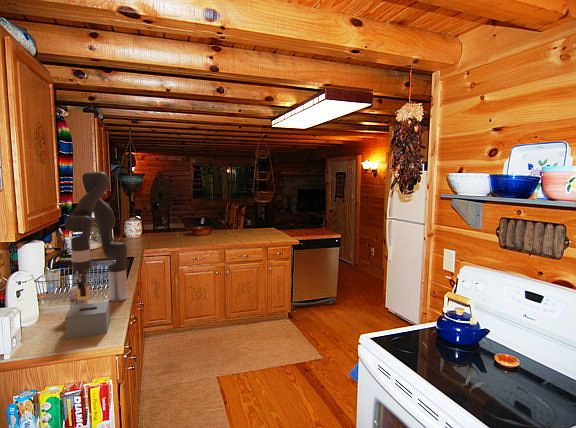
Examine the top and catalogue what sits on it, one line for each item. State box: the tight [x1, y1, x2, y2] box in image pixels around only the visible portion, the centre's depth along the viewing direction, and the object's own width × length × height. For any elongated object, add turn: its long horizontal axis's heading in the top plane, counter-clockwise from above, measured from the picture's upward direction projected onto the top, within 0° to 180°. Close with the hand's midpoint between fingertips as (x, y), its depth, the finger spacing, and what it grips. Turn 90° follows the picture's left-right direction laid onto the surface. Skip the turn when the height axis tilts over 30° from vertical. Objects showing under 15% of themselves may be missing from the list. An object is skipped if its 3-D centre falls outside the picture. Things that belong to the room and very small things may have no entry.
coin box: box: [64, 300, 111, 340], centre depth 162 cm, size 14×16×10 cm
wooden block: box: [76, 285, 91, 300], centre depth 160 cm, size 2×5×6 cm, turn 112°
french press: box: [68, 285, 89, 308], centre depth 176 cm, size 10×12×25 cm
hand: (83, 295), depth 160 cm, fingers closed on wooden block, 1 cm apart
